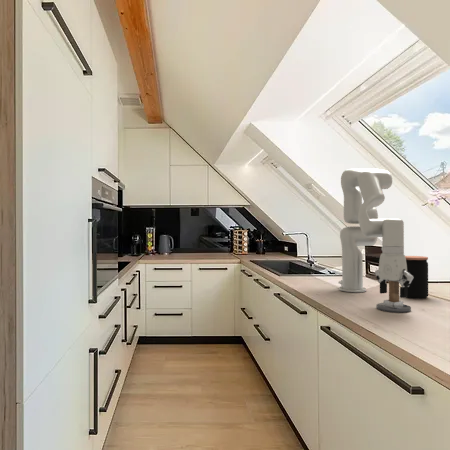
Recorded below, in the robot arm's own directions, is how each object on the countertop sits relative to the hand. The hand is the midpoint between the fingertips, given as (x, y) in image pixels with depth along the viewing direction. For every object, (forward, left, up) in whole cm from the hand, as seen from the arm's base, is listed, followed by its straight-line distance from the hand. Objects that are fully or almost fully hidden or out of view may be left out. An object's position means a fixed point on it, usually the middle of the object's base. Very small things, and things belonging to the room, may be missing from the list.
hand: (393, 295), depth 140 cm
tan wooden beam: (0, 0, -4) cm, 4 cm away
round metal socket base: (0, 0, -5) cm, 5 cm away
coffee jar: (-14, +28, -5) cm, 32 cm away
